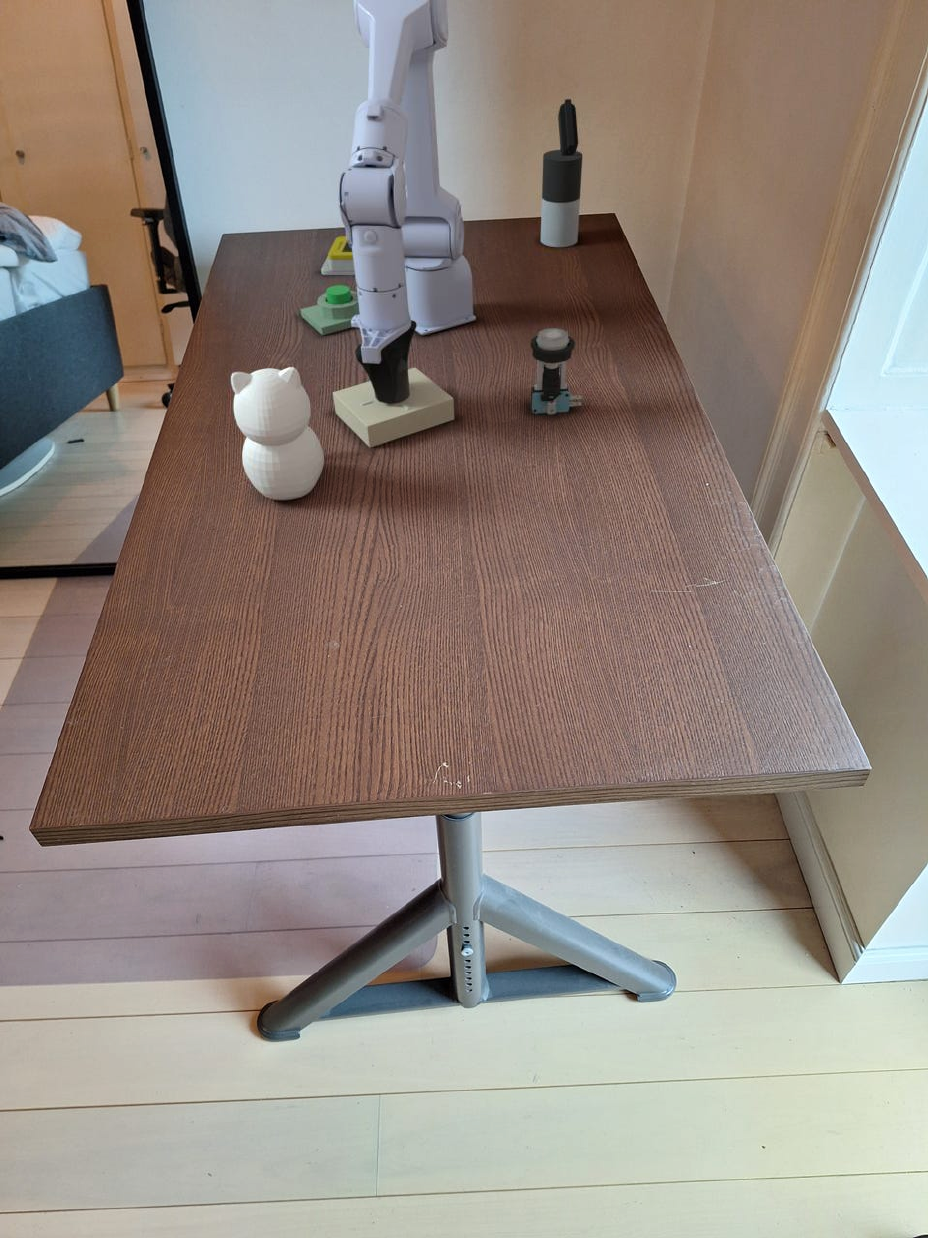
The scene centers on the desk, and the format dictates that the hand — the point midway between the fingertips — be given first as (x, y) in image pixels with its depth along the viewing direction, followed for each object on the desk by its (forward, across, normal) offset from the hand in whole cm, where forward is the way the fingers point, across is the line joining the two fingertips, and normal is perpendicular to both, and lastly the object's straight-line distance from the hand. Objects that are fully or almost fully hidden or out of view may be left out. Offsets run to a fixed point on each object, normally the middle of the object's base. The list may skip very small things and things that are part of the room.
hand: (391, 390), depth 106 cm
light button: (+1, -28, -15) cm, 32 cm away
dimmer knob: (+1, 0, 0) cm, 1 cm away
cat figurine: (+4, +16, -9) cm, 18 cm away
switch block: (+4, -28, -15) cm, 32 cm away
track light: (+4, -61, +16) cm, 63 cm away
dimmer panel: (+4, 0, 0) cm, 4 cm away
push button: (+4, -4, +20) cm, 21 cm away
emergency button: (+4, -49, -16) cm, 52 cm away
